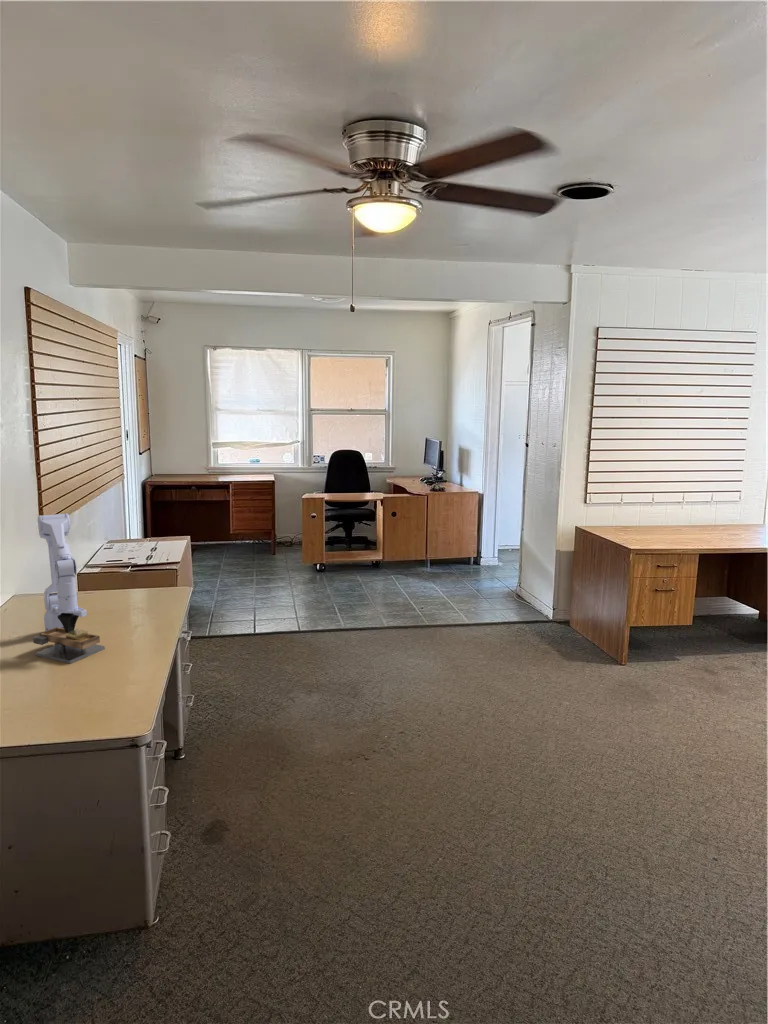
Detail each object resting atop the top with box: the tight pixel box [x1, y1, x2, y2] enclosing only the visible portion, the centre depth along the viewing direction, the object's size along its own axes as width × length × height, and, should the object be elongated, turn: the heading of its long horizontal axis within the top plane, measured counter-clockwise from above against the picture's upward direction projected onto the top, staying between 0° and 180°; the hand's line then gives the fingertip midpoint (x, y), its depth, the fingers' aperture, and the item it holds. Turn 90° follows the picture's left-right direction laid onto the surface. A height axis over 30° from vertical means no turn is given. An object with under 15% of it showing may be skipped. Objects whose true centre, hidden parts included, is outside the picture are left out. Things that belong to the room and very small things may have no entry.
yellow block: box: [66, 628, 89, 641], centre depth 216 cm, size 5×4×2 cm
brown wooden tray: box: [32, 627, 101, 649], centre depth 218 cm, size 20×12×3 cm, turn 66°
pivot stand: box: [35, 643, 106, 664], centre depth 218 cm, size 16×14×5 cm
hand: (70, 634), depth 218 cm, fingers closed
